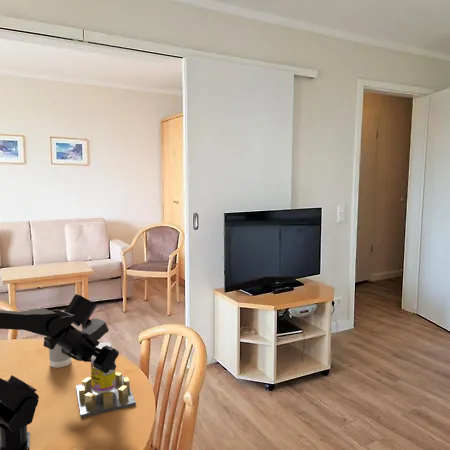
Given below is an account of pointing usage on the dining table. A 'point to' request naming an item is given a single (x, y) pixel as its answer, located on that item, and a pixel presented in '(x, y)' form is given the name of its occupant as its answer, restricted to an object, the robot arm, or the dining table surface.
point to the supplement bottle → (102, 376)
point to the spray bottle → (58, 357)
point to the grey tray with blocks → (104, 397)
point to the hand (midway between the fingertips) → (107, 364)
